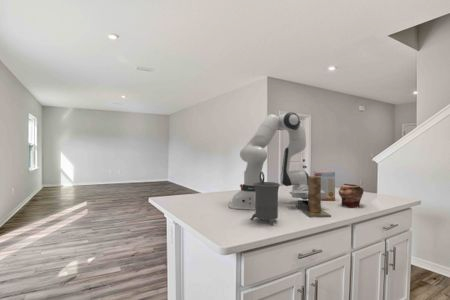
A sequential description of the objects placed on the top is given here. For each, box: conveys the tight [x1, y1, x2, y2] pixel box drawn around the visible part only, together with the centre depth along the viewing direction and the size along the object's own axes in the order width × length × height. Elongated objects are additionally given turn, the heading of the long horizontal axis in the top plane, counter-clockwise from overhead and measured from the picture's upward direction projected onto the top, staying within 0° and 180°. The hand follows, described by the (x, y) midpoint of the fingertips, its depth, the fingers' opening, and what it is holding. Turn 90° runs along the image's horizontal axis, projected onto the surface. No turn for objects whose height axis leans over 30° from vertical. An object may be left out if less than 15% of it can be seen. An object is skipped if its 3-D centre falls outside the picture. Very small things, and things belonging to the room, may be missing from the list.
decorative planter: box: [338, 183, 364, 208], centre depth 163 cm, size 20×12×14 cm, turn 116°
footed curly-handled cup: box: [250, 171, 281, 227], centre depth 129 cm, size 19×15×25 cm
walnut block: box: [307, 175, 322, 212], centre depth 144 cm, size 5×6×20 cm
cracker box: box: [312, 170, 336, 202], centre depth 181 cm, size 14×6×21 cm, turn 84°
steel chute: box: [295, 199, 332, 218], centre depth 148 cm, size 12×25×4 cm, turn 1°
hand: (312, 196), depth 147 cm, fingers closed, pressing on walnut block
